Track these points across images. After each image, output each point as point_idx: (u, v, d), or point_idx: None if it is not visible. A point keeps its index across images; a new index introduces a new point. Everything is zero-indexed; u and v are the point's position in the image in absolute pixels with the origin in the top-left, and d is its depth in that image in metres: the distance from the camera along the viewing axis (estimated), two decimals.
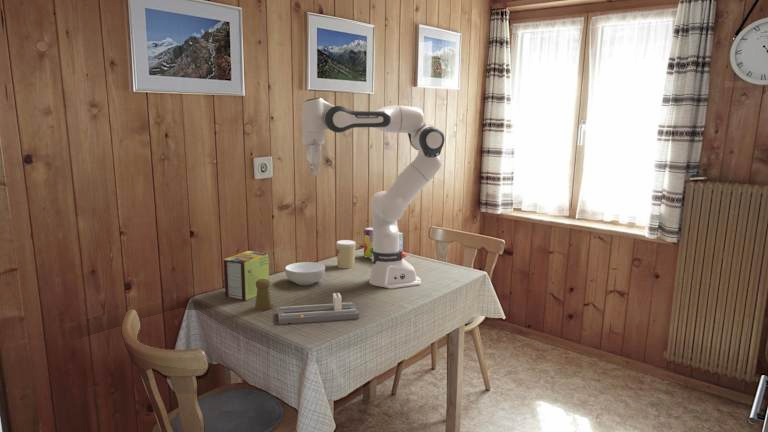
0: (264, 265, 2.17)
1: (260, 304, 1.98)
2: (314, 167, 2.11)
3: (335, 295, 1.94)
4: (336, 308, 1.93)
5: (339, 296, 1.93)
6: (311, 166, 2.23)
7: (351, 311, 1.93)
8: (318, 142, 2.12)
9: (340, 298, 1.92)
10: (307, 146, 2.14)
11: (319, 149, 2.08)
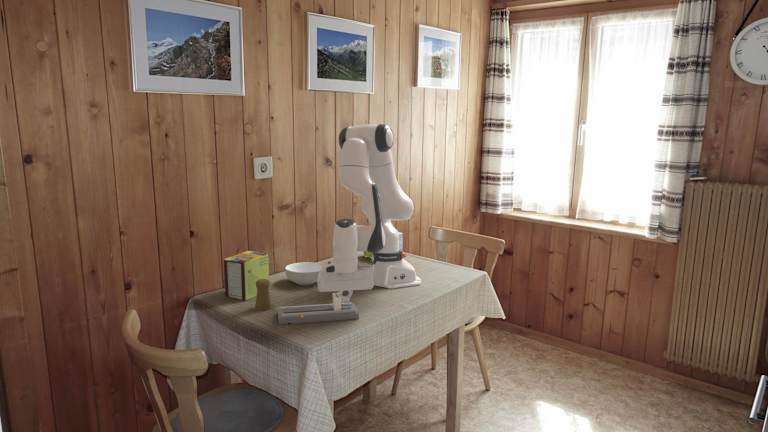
0: (264, 265, 2.17)
1: (260, 304, 1.98)
2: None
3: (335, 295, 1.94)
4: (336, 308, 1.93)
5: (339, 296, 1.93)
6: None
7: (351, 311, 1.93)
8: None
9: (339, 298, 1.92)
10: (351, 274, 1.91)
11: None
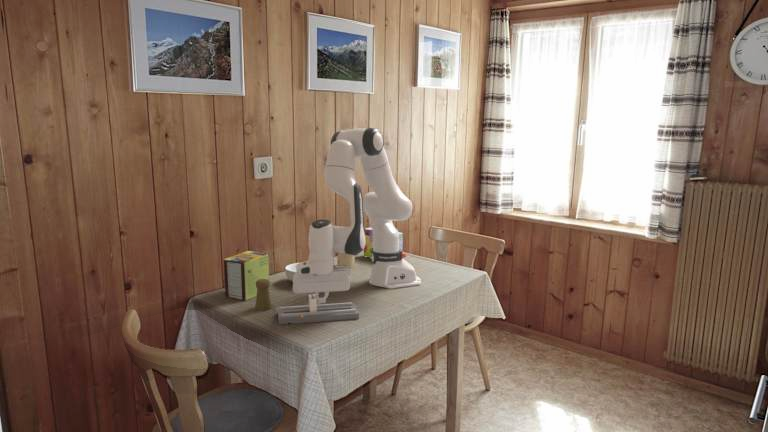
0: (264, 265, 2.17)
1: (260, 304, 1.98)
2: None
3: (310, 297, 1.92)
4: (311, 310, 1.91)
5: (314, 298, 1.91)
6: (318, 297, 1.92)
7: (351, 311, 1.93)
8: None
9: (315, 299, 1.90)
10: (327, 275, 1.89)
11: None
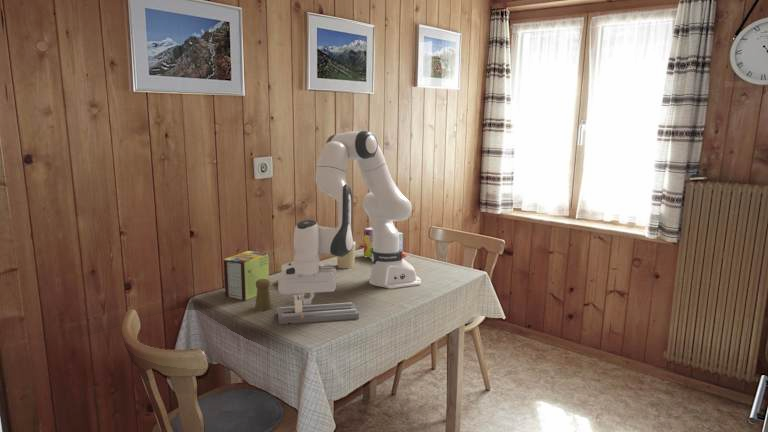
0: (264, 265, 2.17)
1: (260, 304, 1.98)
2: None
3: (296, 297, 1.91)
4: (297, 311, 1.90)
5: (300, 298, 1.90)
6: (303, 298, 1.91)
7: (351, 311, 1.93)
8: None
9: (300, 300, 1.89)
10: (312, 276, 1.88)
11: None
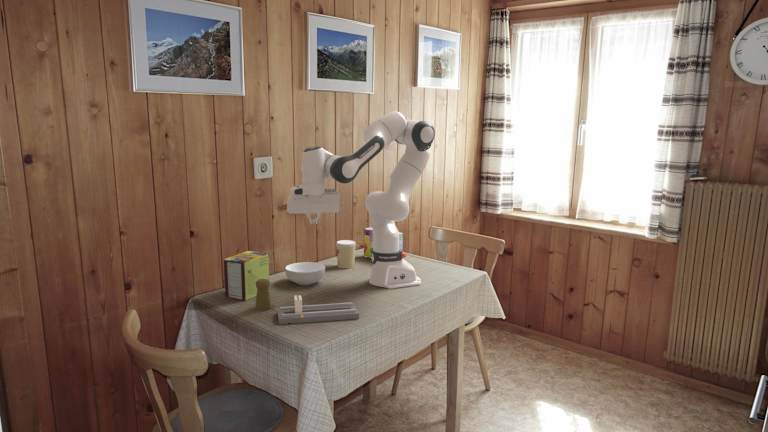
0: (264, 265, 2.17)
1: (260, 304, 1.98)
2: (319, 216, 2.10)
3: (296, 297, 1.91)
4: (296, 311, 1.90)
5: (300, 298, 1.90)
6: (310, 218, 2.09)
7: (351, 311, 1.93)
8: None
9: (300, 300, 1.89)
10: (318, 197, 2.06)
11: None
